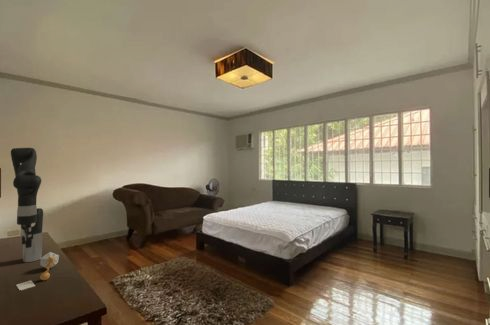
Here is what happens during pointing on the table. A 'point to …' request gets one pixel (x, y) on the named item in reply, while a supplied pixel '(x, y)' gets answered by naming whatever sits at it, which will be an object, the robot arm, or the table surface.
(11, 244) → the table surface
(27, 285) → the grey mat
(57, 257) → the die
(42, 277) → the figurine
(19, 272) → the table surface
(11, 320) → the table surface
